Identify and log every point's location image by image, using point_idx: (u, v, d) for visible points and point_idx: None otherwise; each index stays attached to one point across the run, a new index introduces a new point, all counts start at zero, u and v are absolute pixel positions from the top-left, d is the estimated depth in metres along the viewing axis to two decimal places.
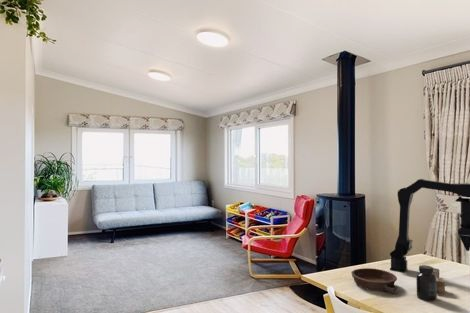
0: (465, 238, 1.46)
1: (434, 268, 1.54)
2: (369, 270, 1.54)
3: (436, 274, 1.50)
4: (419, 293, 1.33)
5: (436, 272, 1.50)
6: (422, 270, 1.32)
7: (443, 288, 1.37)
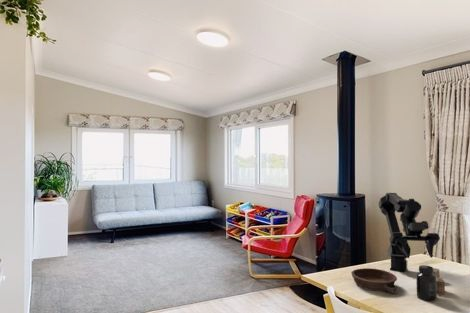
0: (401, 245, 1.47)
1: (434, 268, 1.54)
2: (369, 270, 1.54)
3: (436, 274, 1.50)
4: (419, 293, 1.33)
5: (436, 272, 1.50)
6: (422, 270, 1.32)
7: (443, 288, 1.37)
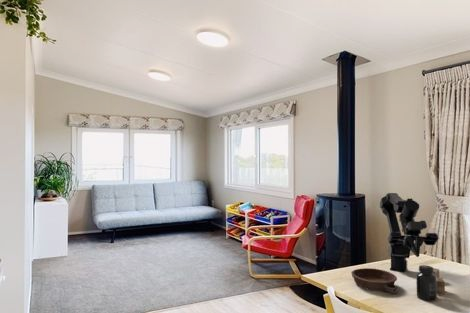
0: (410, 245, 1.46)
1: (434, 268, 1.54)
2: (369, 270, 1.54)
3: (436, 274, 1.50)
4: (419, 293, 1.33)
5: (436, 272, 1.50)
6: (422, 270, 1.32)
7: (443, 288, 1.37)
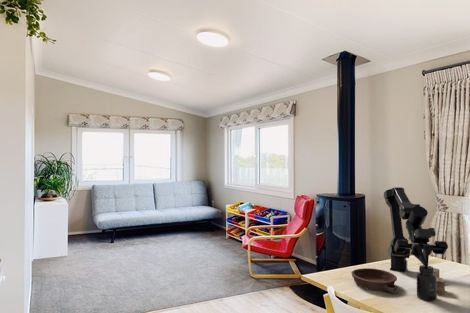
0: (418, 254, 1.38)
1: (434, 268, 1.54)
2: (369, 270, 1.54)
3: (436, 274, 1.50)
4: (419, 293, 1.32)
5: (436, 272, 1.50)
6: (422, 270, 1.32)
7: (443, 288, 1.37)
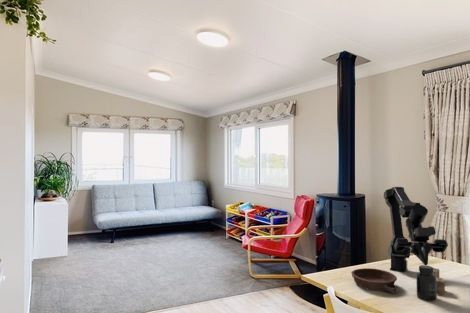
0: (418, 252, 1.38)
1: (434, 268, 1.54)
2: (369, 270, 1.54)
3: (436, 274, 1.50)
4: (419, 293, 1.33)
5: (436, 272, 1.50)
6: (422, 270, 1.32)
7: (443, 288, 1.37)
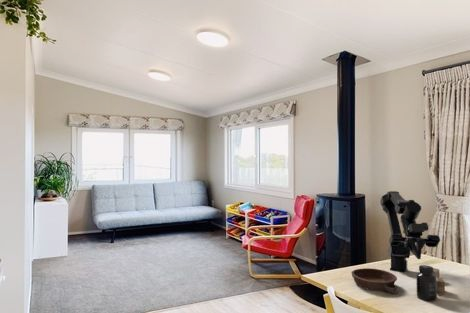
0: (411, 247, 1.45)
1: (434, 268, 1.54)
2: (369, 270, 1.54)
3: (436, 274, 1.50)
4: (419, 293, 1.33)
5: (436, 272, 1.50)
6: (422, 270, 1.32)
7: (443, 288, 1.37)
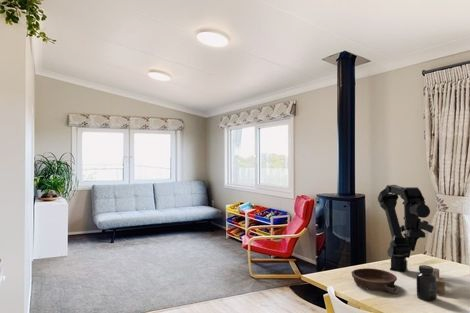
0: (411, 239, 1.53)
1: (434, 268, 1.54)
2: (369, 270, 1.54)
3: (436, 274, 1.50)
4: (419, 293, 1.33)
5: (436, 272, 1.50)
6: (422, 270, 1.32)
7: (443, 288, 1.37)
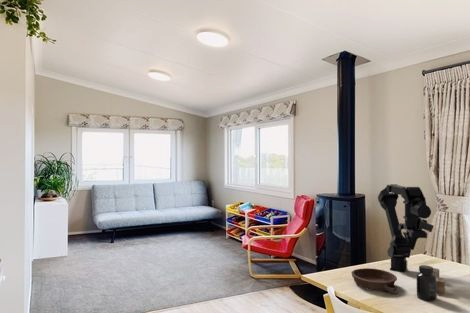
0: (411, 238, 1.53)
1: (434, 268, 1.54)
2: (369, 270, 1.54)
3: (436, 274, 1.50)
4: (419, 293, 1.33)
5: (436, 272, 1.50)
6: (422, 270, 1.32)
7: (443, 288, 1.37)
